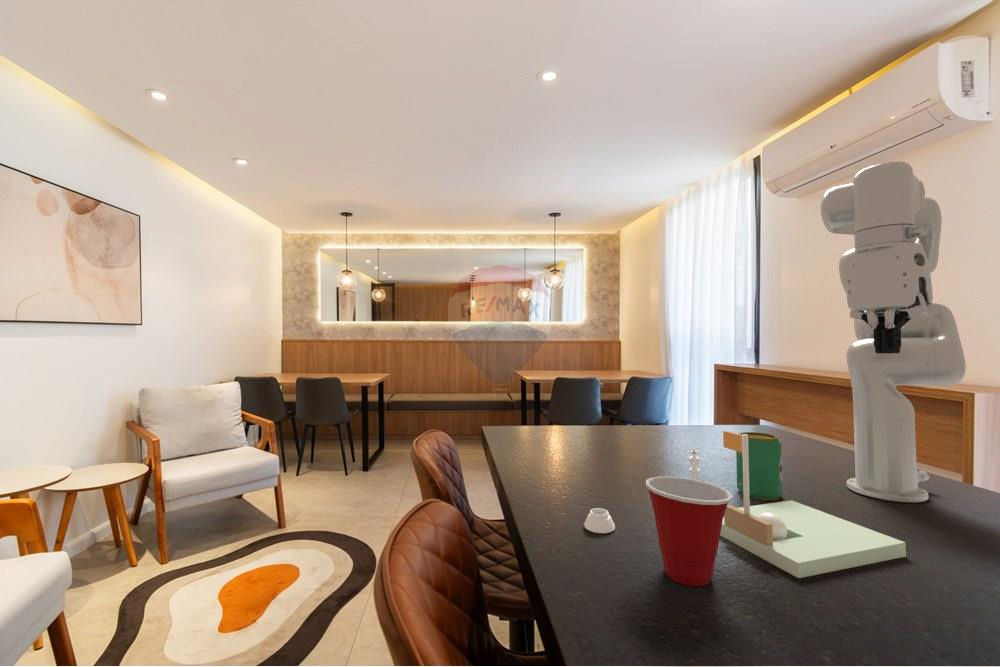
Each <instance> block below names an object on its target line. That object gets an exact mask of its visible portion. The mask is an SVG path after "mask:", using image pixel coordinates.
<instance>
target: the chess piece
mask: <svg viewBox="0 0 1000 667" xmlns="http://www.w3.org/2000/svg"><path fill="white" fill-rule="evenodd" d="M689 454H691V456H689V457H688V461H689V463H690V466H691V467H690V468H688V471H689V472H691V479H692V480H696V481H699V478H698V473H700V472H701V470H700V468H698V467H699V462H700V460H701V459H700V457H699V456H696V455H699V454H700V453H699V451H698V450H696V447H692V450H689Z"/></svg>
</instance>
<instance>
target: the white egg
mask: <svg viewBox="0 0 1000 667" xmlns="http://www.w3.org/2000/svg"><path fill="white" fill-rule="evenodd" d="M756 517H758V518H760V519H762V520H765V521H767V522H769V523H771V524H772V529H773V541H779V540H785V539H786V537H787V527H786V524H785V523H784V521H783V520H782V519H781V518H780V517H779V516H777V515H776V514H773V513H770V512H763V513H760V514H758V515H757V516H756Z"/></svg>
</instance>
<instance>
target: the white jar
mask: <svg viewBox="0 0 1000 667" xmlns="http://www.w3.org/2000/svg"><path fill="white" fill-rule="evenodd" d="M583 526H584V529H586V530H588V531H589V532H591V533H594V534H599V535H600V534H608V533H611V532H613V531H615V529H616V525H615V523H614V521H613V518H612V517H611V514H610V513H609V511H608V510H607V509H605V508H600V507H599V508H597V507H596V508H592V509H590V511H589V513H588V515H587V517H586V519H585V521H584V524H583Z"/></svg>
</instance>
